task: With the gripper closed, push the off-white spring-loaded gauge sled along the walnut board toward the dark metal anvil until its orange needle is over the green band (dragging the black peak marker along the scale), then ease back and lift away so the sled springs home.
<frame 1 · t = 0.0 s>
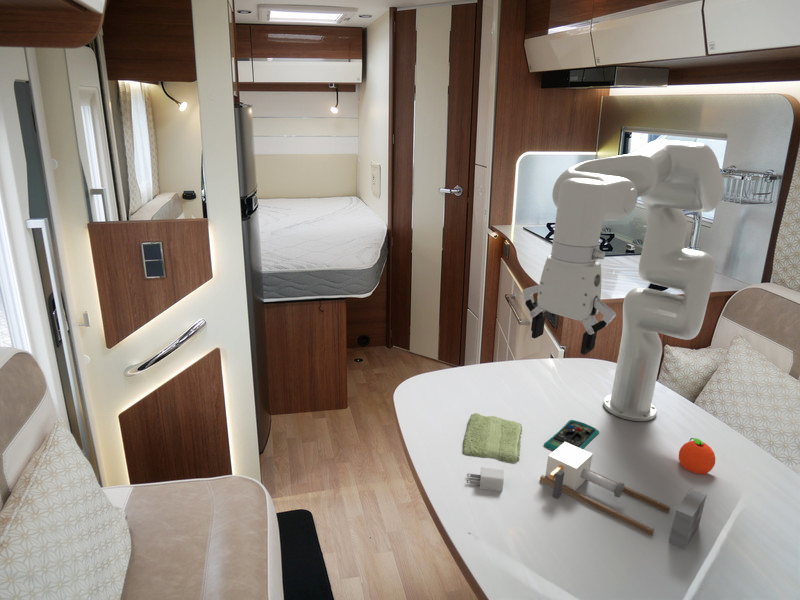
hand: (560, 344, 107), 31 cm above the table, tool pointing down, fingers open, 9 cm apart
clementine: (692, 470, 125), on the table
digital multimeter: (570, 447, 133), on the table
washcloth: (491, 445, 132), on the table
usb wall charger: (483, 489, 117), on the table
gauge board: (606, 507, 113), on the table
gauge sled: (582, 479, 114), point 4 cm above the table, slide at 0.0 cm
peak marker: (558, 484, 112), point 4 cm above the table, slide at 0.0 cm
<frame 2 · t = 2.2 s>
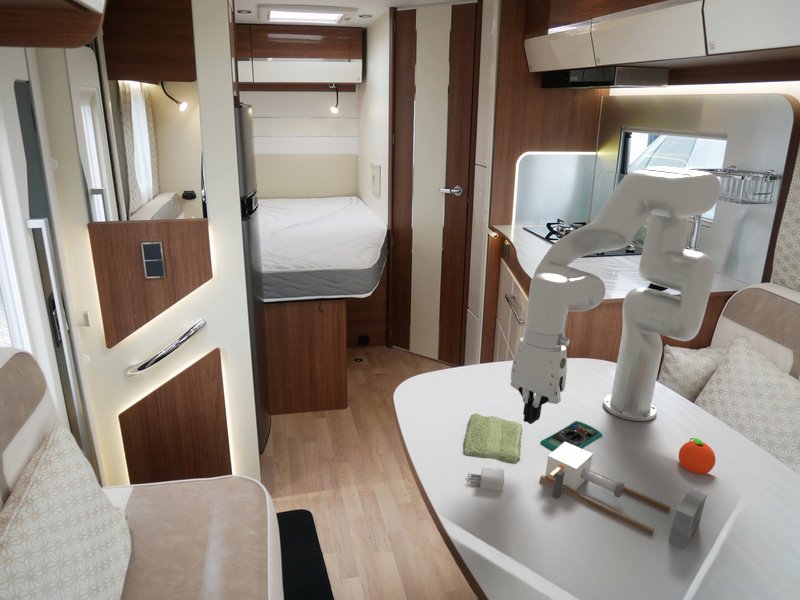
hand: (530, 420, 120), 11 cm above the table, tool pointing down, fingers closed
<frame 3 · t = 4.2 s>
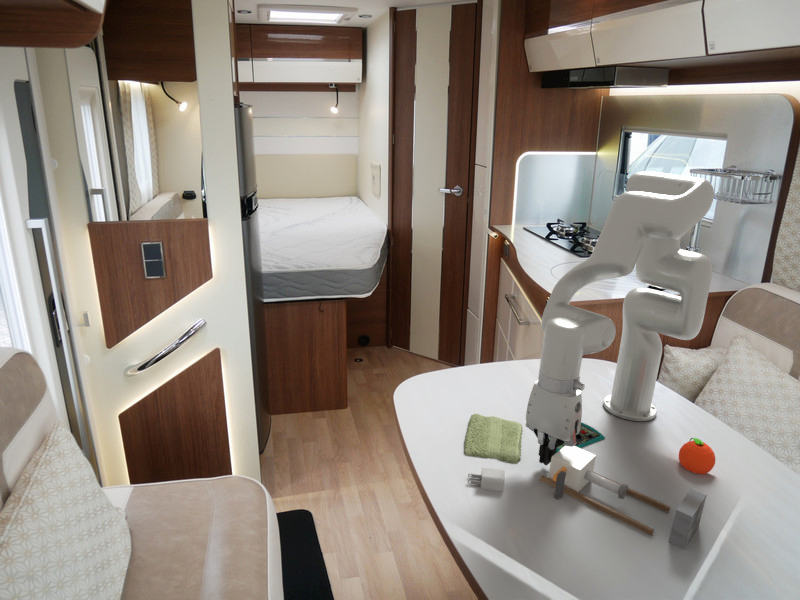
hand: (546, 461, 121), 3 cm above the table, tool pointing down, fingers closed
gauge sled: (585, 481, 113), point 4 cm above the table, slide at 0.7 cm, touching gripper, peak marker
peak marker: (560, 485, 112), point 4 cm above the table, slide at 0.3 cm, touching gauge sled
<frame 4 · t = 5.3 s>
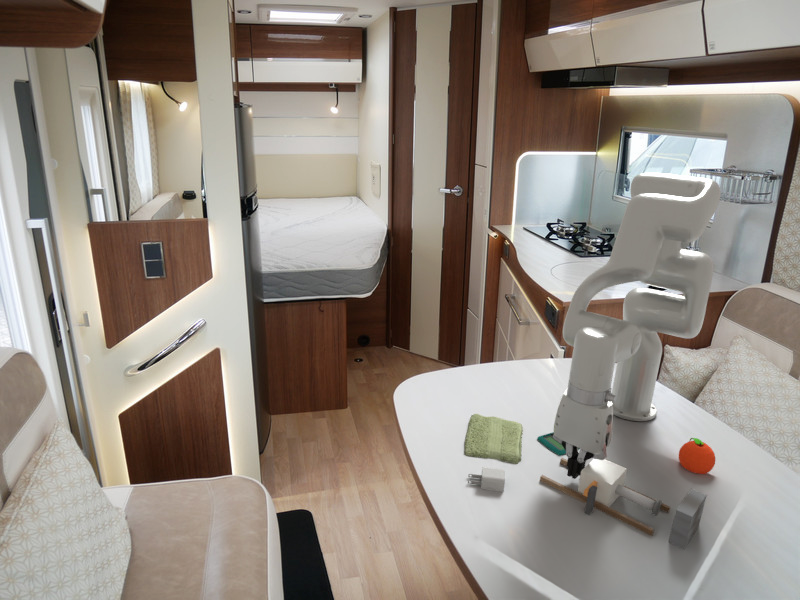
hand: (574, 474, 117), 3 cm above the table, tool pointing down, fingers closed
gauge sled: (617, 495, 109), point 4 cm above the table, slide at 6.9 cm, touching gripper, peak marker
peak marker: (590, 500, 108), point 4 cm above the table, slide at 6.5 cm, touching gauge sled
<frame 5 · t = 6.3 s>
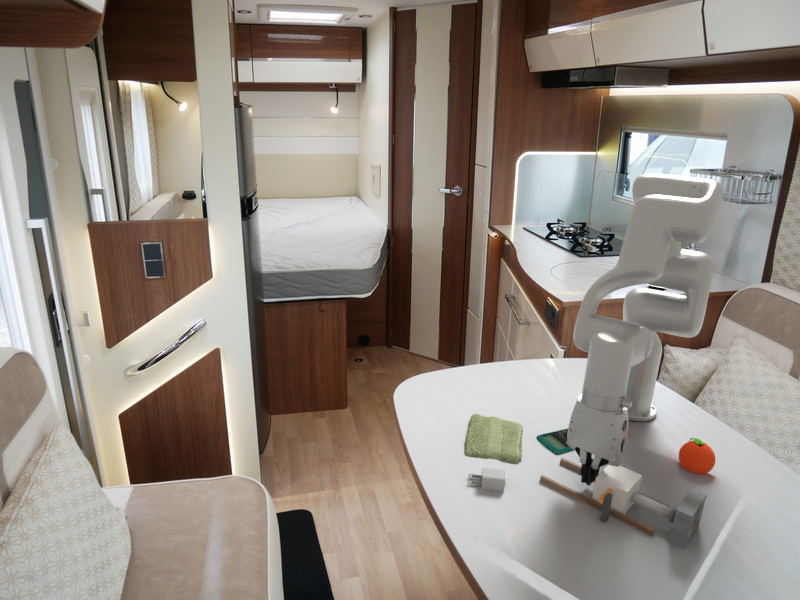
hand: (588, 480, 115), 3 cm above the table, tool pointing down, fingers closed
gauge sled: (632, 503, 107), point 4 cm above the table, slide at 9.8 cm, touching gripper, peak marker
peak marker: (606, 507, 106), point 4 cm above the table, slide at 9.4 cm, touching gauge sled
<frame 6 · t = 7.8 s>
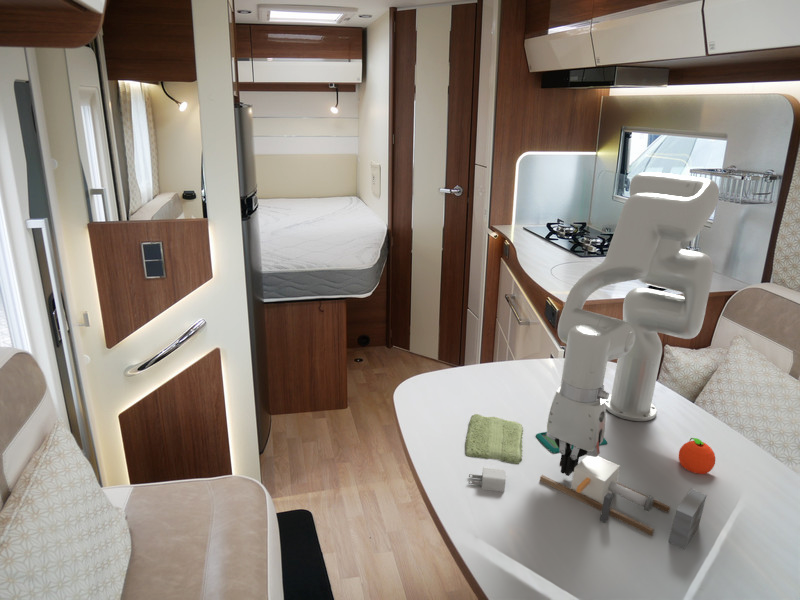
hand: (567, 471, 118), 3 cm above the table, tool pointing down, fingers closed
gauge sled: (610, 492, 110), point 4 cm above the table, slide at 5.5 cm, touching gripper
peak marker: (606, 507, 106), point 4 cm above the table, slide at 9.5 cm
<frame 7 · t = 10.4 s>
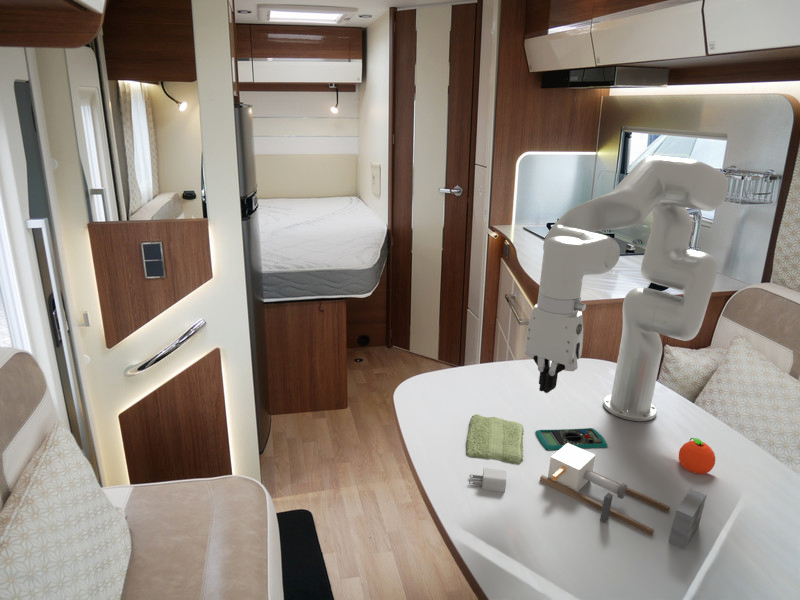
hand: (546, 389, 117), 19 cm above the table, tool pointing down, fingers closed
gauge sled: (584, 480, 113), point 4 cm above the table, slide at 0.6 cm
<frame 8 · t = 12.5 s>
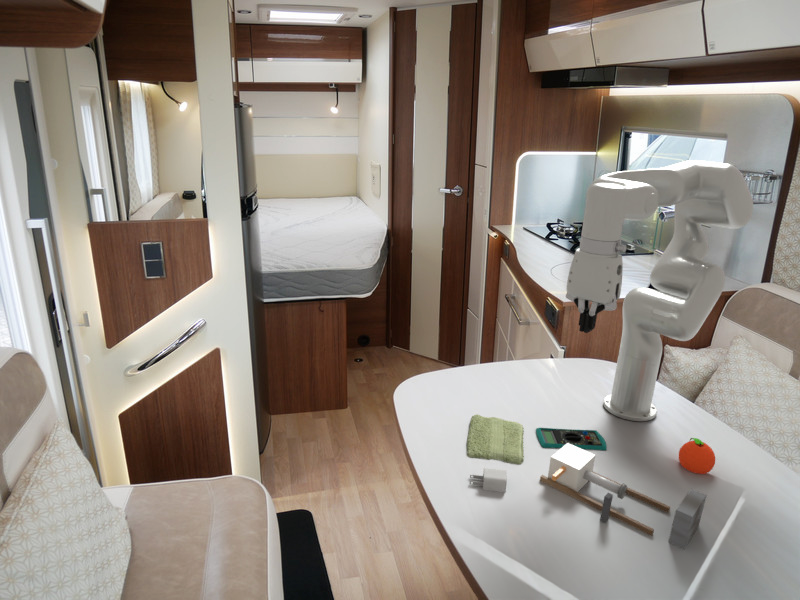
hand: (586, 330, 125), 27 cm above the table, tool pointing down, fingers closed
at the end: peak marker slide at 9.5 cm; gauge sled slide at 0.6 cm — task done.
